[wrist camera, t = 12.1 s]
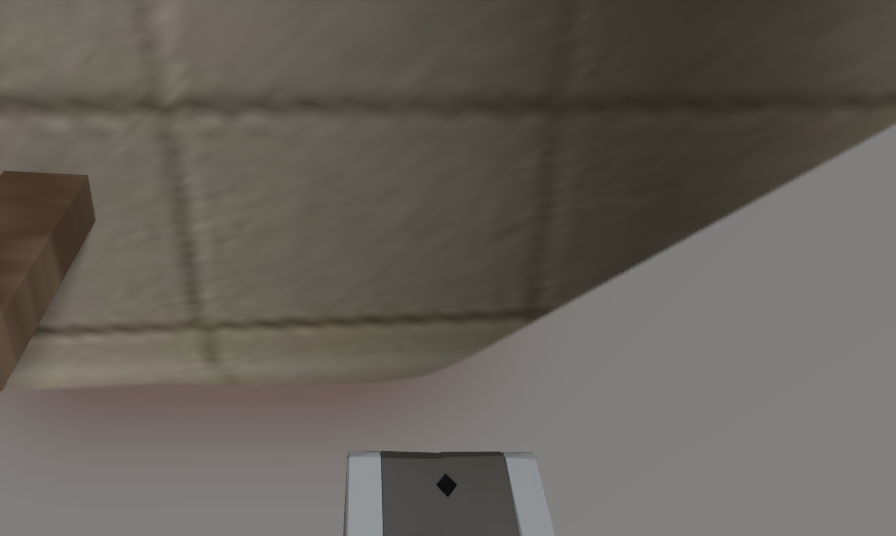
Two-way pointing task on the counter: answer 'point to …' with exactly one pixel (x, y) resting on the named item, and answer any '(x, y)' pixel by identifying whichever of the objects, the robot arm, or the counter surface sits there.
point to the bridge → (36, 250)
